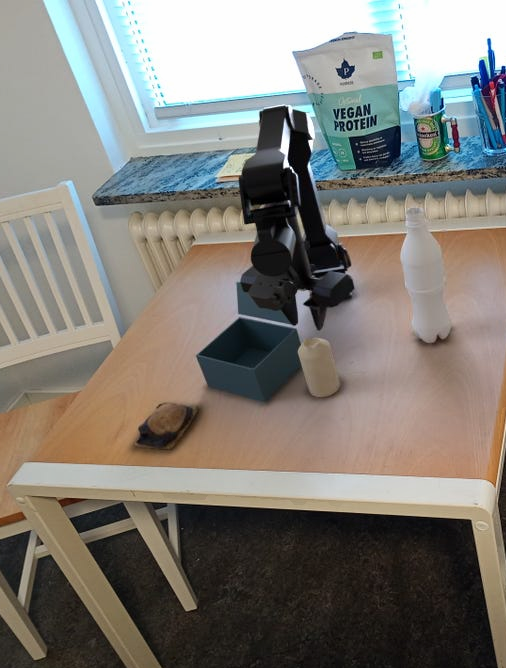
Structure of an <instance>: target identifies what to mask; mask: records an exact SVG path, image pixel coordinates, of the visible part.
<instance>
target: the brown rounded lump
mask: <svg viewBox="0 0 506 668" xmlns="http://www.w3.org/2000/svg"><path fill="white" fill-rule="evenodd" d="M198 410H199V408H198V406H196V405H194V404H193V405H192V404H179V403H173V402H164V403H159V404H158V406H156V407H155V410H154V411H153V412H152V414H151V415H149V416H148V417H147V418H146V419H145V421H144V422H143V423H142V424H140V425H139V426H138V429H137V430H138V433H139V436H138V437H137V439H136V441H135V443H134V446H135V447H136V448H139V449H140V448H142V449H148V450H150V449H154V450H169V451H170V450H172V449H173V448H174V447H175V445H176V444H177V443H178V441H180V438H182V437H183V435H184V433H185V431H186V430H187V429H188V428H189V426H190V425H191V423H192V421H193V420H194V418H195V416H196V415H197V412H198Z"/></svg>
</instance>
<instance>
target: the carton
mask: <svg viewBox="0 0 506 668" xmlns="http://www.w3.org/2000/svg"><path fill="white" fill-rule="evenodd" d="M301 345H302V342H301V339H300V336H299V332H298V329H297V328H295V327H293V326H292V327H291V326H286V325H281V324H276V323H272V322H267V321H261V320H257V319H252V318H247V317H242V316H238V317H237V319H235V320H234V321H233V322H232V323H231V324H230V325H228V326H227V327H226V328H225V329H224V330H223V331H222V332H221V333H219V334H218V335H217V336H216V337H215V338H213V340H211V341H210V342H208V344H207V345H205V347H204V348H202V349H201V350H200V351H199V352H198V353H197V354H196V355H195V357H196V358H195V359H196V361H197V363H198V365H199V367H200V369H201V372H202V375H203V378H204V380H205V383H206V385H207V387H208V388H210V389H214V390H216V391H217V390H218V391H221V392H225V393H229V394H232V395H236V396H239V397H243V398H246V399H250V400H254V401H258V402H261V403H264V404H265V403H267V402H268V401H269V400H270V399H271V397H272V396H274V395H275V393H276V392H277V391H278V390H279V389H280V388H281V387H282V386H283V385H284V384H286V382H287V381H288V380H289V379H290V378H291V377H292V376H293V375H294V374H295V373H296V372H297V370H299V368H301V367H302V365H301V361H300V358H299V355H298V349H299V347H300V346H301Z"/></svg>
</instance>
